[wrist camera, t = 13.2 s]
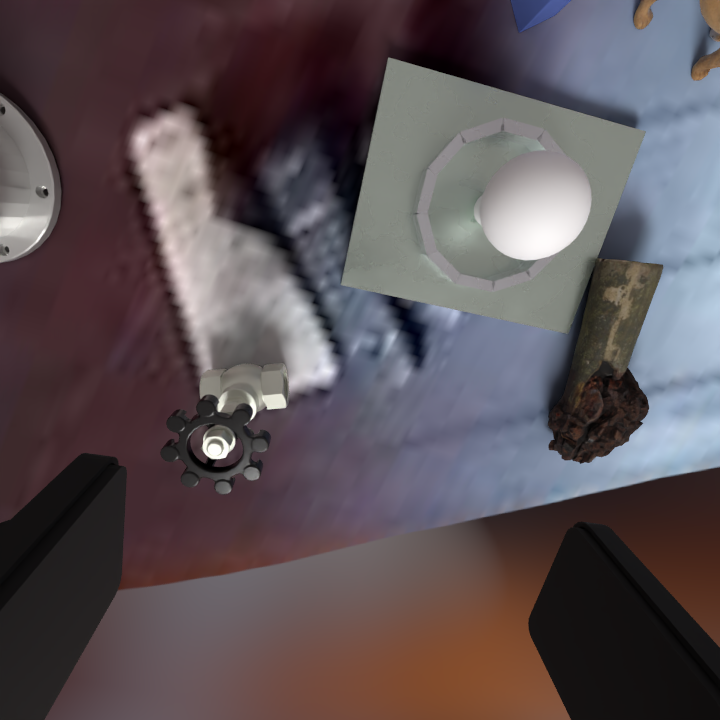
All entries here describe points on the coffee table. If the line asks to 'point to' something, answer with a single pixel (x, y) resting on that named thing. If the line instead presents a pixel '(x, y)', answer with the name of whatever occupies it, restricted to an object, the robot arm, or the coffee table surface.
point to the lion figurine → (716, 9)
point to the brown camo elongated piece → (605, 364)
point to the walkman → (535, 11)
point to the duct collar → (474, 197)
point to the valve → (228, 422)
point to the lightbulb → (535, 205)
